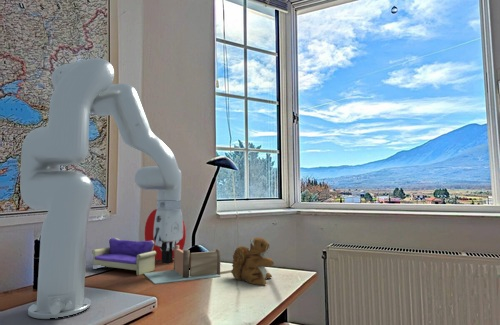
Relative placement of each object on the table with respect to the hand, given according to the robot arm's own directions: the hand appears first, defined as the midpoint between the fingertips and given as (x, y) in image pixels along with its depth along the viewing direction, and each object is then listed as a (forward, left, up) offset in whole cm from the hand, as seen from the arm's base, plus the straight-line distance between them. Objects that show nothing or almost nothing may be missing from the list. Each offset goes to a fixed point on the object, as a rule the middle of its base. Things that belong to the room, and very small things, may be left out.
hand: (166, 262), depth 114 cm
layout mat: (-2, -4, -4) cm, 6 cm away
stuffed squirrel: (-17, -22, -4) cm, 28 cm away
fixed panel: (-6, -10, -4) cm, 12 cm away
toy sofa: (+14, +11, -4) cm, 18 cm away
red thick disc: (+26, -6, -4) cm, 27 cm away
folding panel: (0, -5, -3) cm, 6 cm away
